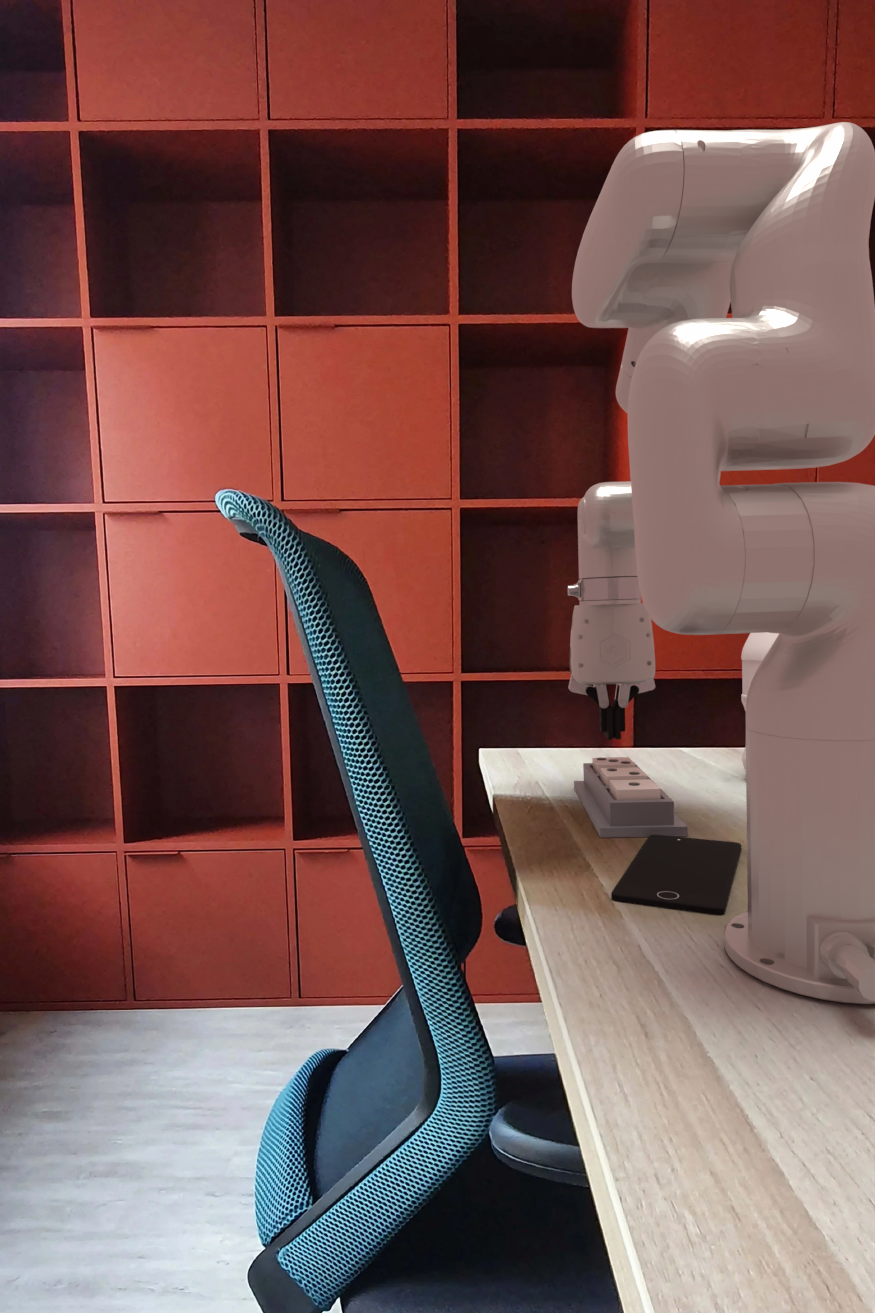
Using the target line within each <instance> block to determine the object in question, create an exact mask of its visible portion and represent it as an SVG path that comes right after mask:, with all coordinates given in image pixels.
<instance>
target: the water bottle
mask: <svg viewBox="0 0 875 1313" xmlns="http://www.w3.org/2000/svg"><path fill="white" fill-rule="evenodd" d="M778 635H779V633H769V632H763V633H749V635H748V637H747V639H746V641H745V643H744V645H743V647H742V650H741V656H740V659H741V679H742V681H741V682H742V685H741V686H742V691H741V692H742V694H740V695H741V696H740V697H741V704H742V705H743V708H744V711H745V713H746V700H747V694H748V690H749V687H750V684H751V681H752V679H753V677H754V675H755V672H756V670H757V669H758V667H759V665H760V664H761V662H762V660H763V659H764V657H765V656H766V654H767V653H768V651H769V650H770V648H771V646H772V645H773V643H774V641H775V640H776V638H777V637H778ZM741 757H742V758H741V759H742V760H741V762H742V765H743V769H744V770H745V772H746V745H745V747H744V750H743V752H742V755H741Z"/></svg>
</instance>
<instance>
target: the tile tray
mask: <svg viewBox="0 0 875 1313" xmlns="http://www.w3.org/2000/svg"><path fill="white" fill-rule="evenodd" d="M582 765H583V766H582V767H583V770H582V771H583V773H582V774H583V780H574V781H573V789H574V791H575V792H576V794H577V797H578V798H579V800H580V802H581V804H582V806H583V808H584V810H585V812H586V813H587V816H588V817H589V819H590V821H591V823H592V825H593V826H594V828H595V830H596V833H597V834H598V836H599V838H601V839H602V838H603V839H604V838H606V839H608V838H646V837H647V838H648V837H649V836H650V835H666V836H676V837H689V836H688V835H689V834H688V825H687V824H686V823H685V822H684V821H683V820H682V819H681V818H680V817H679V816H678V815H677V814H676V813H675V811H674V810H675V804H674V802H675V801H674V800H673V799H672V798H671V797H670V796H669V795H668V794H667V793H665V791H663V789H662V788H660V796H661V799H641V800H614V799H613V798H612V797H611V795H610V786H604V785H603V784H602V782H601V775H600V774H595V773H594V771H593V762H587V763H586V762H584V763H582ZM635 767H639V766H638V764H636V763H635ZM647 779H651V778H650V777H649V775H647Z"/></svg>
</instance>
